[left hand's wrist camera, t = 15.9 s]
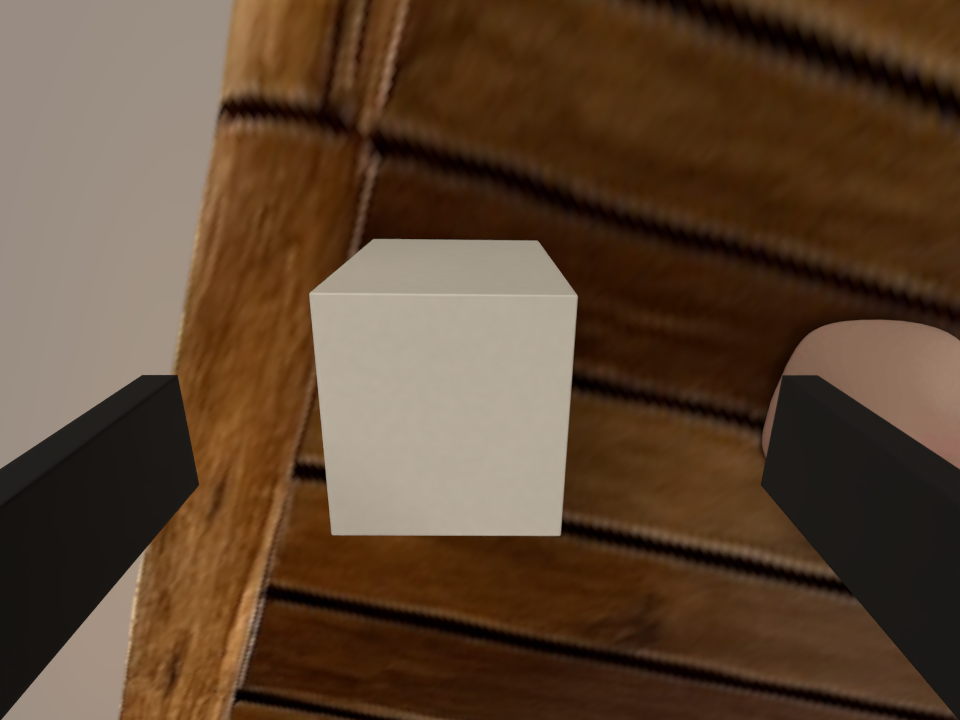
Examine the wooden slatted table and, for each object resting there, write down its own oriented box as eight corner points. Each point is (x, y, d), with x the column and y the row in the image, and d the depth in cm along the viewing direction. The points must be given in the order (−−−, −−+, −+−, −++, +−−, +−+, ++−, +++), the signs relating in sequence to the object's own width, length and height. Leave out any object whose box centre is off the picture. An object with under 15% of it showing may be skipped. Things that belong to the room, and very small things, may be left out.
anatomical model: (795, 369, 24) (1083, 305, 23) (752, 340, 28) (998, 284, 27) (809, 612, 28) (1051, 565, 27) (770, 558, 32) (981, 516, 31)
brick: (538, 240, 26) (578, 295, 16) (531, 403, 29) (560, 536, 19) (372, 238, 26) (308, 292, 16) (381, 402, 29) (331, 536, 19)
